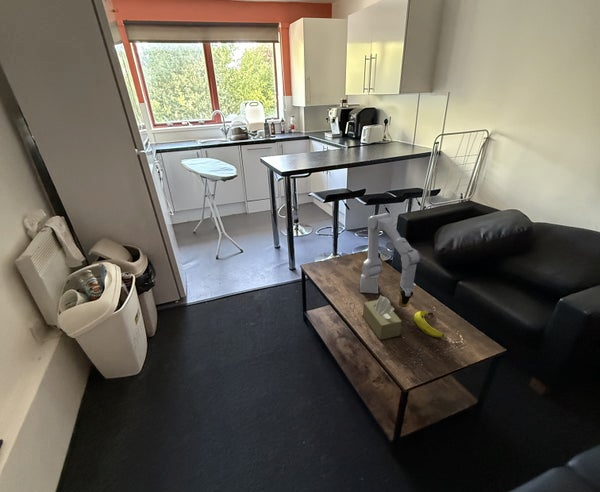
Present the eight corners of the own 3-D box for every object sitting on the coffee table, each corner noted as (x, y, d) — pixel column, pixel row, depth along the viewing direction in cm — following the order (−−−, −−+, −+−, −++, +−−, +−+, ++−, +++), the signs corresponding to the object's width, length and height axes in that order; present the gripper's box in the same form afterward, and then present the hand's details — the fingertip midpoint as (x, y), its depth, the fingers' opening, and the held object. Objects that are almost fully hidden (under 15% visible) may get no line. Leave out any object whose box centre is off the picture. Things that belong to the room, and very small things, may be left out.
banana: (436, 334, 135) (459, 327, 142) (407, 311, 148) (429, 306, 155) (433, 343, 137) (455, 335, 144) (404, 319, 150) (426, 313, 157)
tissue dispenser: (400, 336, 141) (405, 307, 133) (380, 340, 139) (383, 311, 131) (380, 311, 157) (383, 284, 149) (362, 315, 155) (364, 288, 147)
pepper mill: (398, 307, 150) (401, 291, 145) (398, 301, 154) (400, 286, 149) (409, 307, 149) (411, 292, 145) (407, 302, 153) (410, 287, 149)
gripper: (419, 284, 136) (414, 310, 143) (415, 268, 149) (410, 292, 155) (402, 283, 138) (398, 309, 144) (399, 267, 150) (396, 291, 157)
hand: (404, 300), depth 150 cm, fingers closed on pepper mill, 4 cm apart
